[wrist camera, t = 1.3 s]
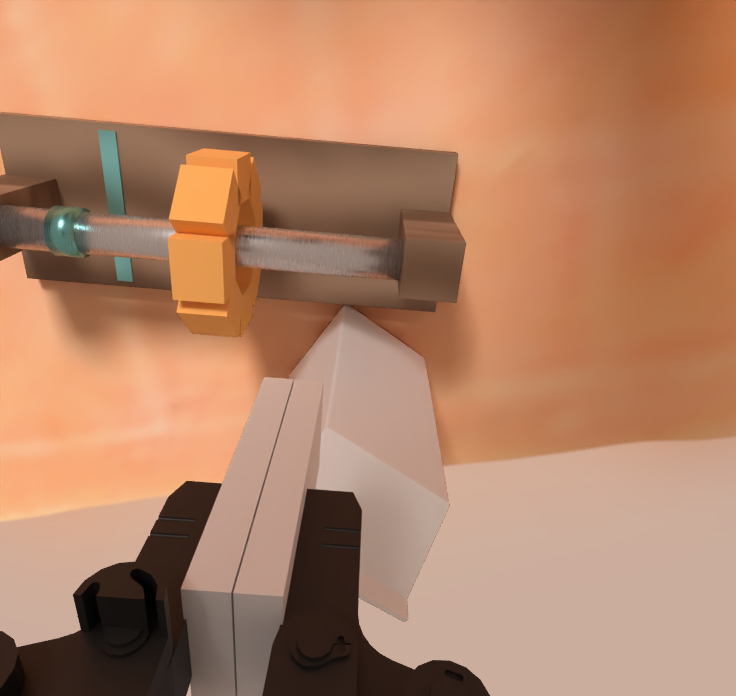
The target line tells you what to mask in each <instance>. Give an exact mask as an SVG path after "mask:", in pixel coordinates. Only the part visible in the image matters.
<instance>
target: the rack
mask: <svg viewBox="0 0 736 696" xmlns="http://www.w3.org/2000/svg"><path fill="white" fill-rule="evenodd" d="M204 148H206V149H217V150H228V151H240V152H250V157H254V161H255V165H256V169H257V173H258V177H259V181H260V186H261V196H260V202H263V227H268V228H279V229H291V230H303V231H314V232H326V233H338V234H349V235H361V236H373V237H384V238H396V239H404V251H403V263H402V272H401V278H400V281H397V280H385V279H373V278H361V277H349V276H338V275H326V274H314V273H302V272H290V271H278V270H266V269H261V273H260V279H259V286H258V293H257V297H261V298H273V299H285V300H297V301H309V302H321V303H333V304H345V305H357V306H369V307H381V308H393V309H405V310H417V311H429V312H435V308H436V302H437V301H440V302H452V303H456V301H457V295H458V289H459V283H460V277H461V271H462V265H463V259H464V253H465V246H466V242H465V240H464V238H463V236H462V235H461V233H460V231H459V229H458V227H457V225H456V223H455V222H454V220H453V218H452V216H451V214H450V207H451V200H452V193H453V186H454V180H455V173H456V166H457V159H458V154H457V153H456V152H445V151H434V150H423V149H412V148H400V147H389V146H378V145H367V144H355V143H344V142H333V141H321V140H310V139H299V138H288V137H276V136H265V135H254V134H243V133H231V132H220V131H209V130H198V129H186V128H175V127H164V126H153V125H141V124H130V123H119V122H107V121H96V120H85V119H74V118H62V117H51V116H40V115H29V114H17V113H6V112H1V113H0V149H1V153H2V158H3V163H4V168H5V173H6V174H5V175H1V176H0V205H11V206H22V207H34V208H46V209H50V208H51V207H53V206H68V207H80V208H86V209H88V210H89V211H90V212H92V213H104V214H116V215H128V216H139V217H151V218H163V219H169V215H170V211H171V206H172V202H173V197H174V193H175V188H176V184H177V179H178V175H179V170H180V166H181V164H182V165H186V155H187V154H190V153H193V152H195V151H198V150H201V149H204ZM20 251H22V254H23V259H24V264H25V269H26V273H27V278H32V279H44V280H56V281H68V282H80V283H92V284H104V285H116V286H128V287H140V288H152V289H164V290H172V285H171V273H170V262H169V261H159V260H148V259H136V258H124V257H112V256H100V255H90V256H89V257H87V258H79V257H67V256H56V255H54V254H53V253H51V251H41V250H29V249H17V248H5V247H1V246H0V261H1V260H3V259H5V258H7V257H10V256H12V255H14V254H16V253H18V252H20Z"/></svg>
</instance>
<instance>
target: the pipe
mask: <svg viewBox="0 0 736 696" xmlns="http://www.w3.org/2000/svg"><path fill="white" fill-rule="evenodd" d="M174 233H176V231H175V230H174V228H173V226H172V224H171V222H170V221H169V219H163V218H151V217H139V216H128V215H116V214H104V213H92V212H90V211H89V210H88V209H86V208H80V207H68V206H53V207H51V208H50V209H46V208H34V207H22V206H11V205H0V246H1V247H5V248H17V249H29V250H41V251H51V253H53V254H54V255H56V256H67V257H79V258H87V257H89V256H90V255H100V256H112V257H124V258H136V259H148V260H159V261H169V250H168V238H169V237H170V236H172V235H173V234H174ZM234 245H235V267H243V268H254V269H266V270H278V271H290V272H302V273H314V274H326V275H338V276H349V277H361V278H373V279H385V280H397V281H400V278H401V272H402V263H403V251H404V239H396V238H384V237H373V236H361V235H349V234H338V233H326V232H314V231H303V230H291V229H279V228H268V227H256V226H244V225H237V228H236V234H235V239H234Z"/></svg>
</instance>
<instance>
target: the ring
mask: <svg viewBox="0 0 736 696" xmlns="http://www.w3.org/2000/svg"><path fill="white" fill-rule="evenodd" d="M260 196H261V186H260V181H259V177H258V173H257V169H256V165H255V161H254V157H250V152H240V151H228V150H217V149H206V148H204V149H201V150H198V151H195V152H193V153H190V154H187V155H186V165H182V164H181V166H180V170H179V175H178V179H177V184H176V188H175V193H174V197H173V202H172V206H171V211H170V215H169V221H170V222H171V224H172V226H173V228H174V230H175V231H176V233H174V234H173V235H172V236H170V237H169V238H168V250H169V262H170V273H171V285H172V297H173V300H179V302H178V307H177V312H176V313H177V314H178V315H179V317H180V318H181V319H182V321H183V322H184V323H185V324H186V326H187V327H188V328H189V330H190V331H191V332H192V334H204V335H216V336H228V337H238V336H240V337H242V335H243V333H244V331H245V329H246V327H247V326H248V324H249V322H250V320H251V318H252V317H253V306H256V299H257V293H258V286H259V279H260V273H261V269H254V268H243V267H235V245H234V239H235V234H236V228H237V225H244V226H256V227H263V202H260Z"/></svg>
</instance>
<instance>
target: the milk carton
mask: <svg viewBox="0 0 736 696" xmlns="http://www.w3.org/2000/svg"><path fill="white" fill-rule="evenodd" d="M288 379H293V384H294V380H295V379H297V380H310V381H322V382H324V386H323V405H322V424H321V444H320V463H319V471H318V477H317V483H316V489H318V490H331V491H344V492H353V493H354V495H355V497H356V499H357V501H358V503H359V505H360V507H361V509H362V525H361V548H360V573H359V598H360V599H362V600H364V601H366V602H367V603H369V604H371V605H373V606H375V607H377V608H379V609H381V610H383V611H384V612H386V613H388V614H391V615H392V616H394V617H396V618H398V619H399V620H401V621H403V622H405V621H407V620H408V605H407V598H408V596H409V594H410V592H411V589H412V587H413V585H414V583H415V581H416V578H417V576H418V574H419V572H420V569H421V568H422V565H423V563H424V561H425V559H426V557H427V554H428V552H429V550H430V548H431V546H432V543H433V541H434V539H435V537H436V535H437V532H438V530H439V528H440V526H441V524H442V522H443V519H444V517H445V515H446V512H447V510H448V508H449V506H450V505H449V500H448V494H447V488H446V482H445V476H444V470H443V464H442V458H441V452H440V446H439V440H438V434H437V428H436V422H435V416H434V410H433V404H432V398H431V392H430V386H429V380H428V374H427V368H426V362H425V359H424V358H423V357H422V356H421V355H419V354H418V353H417V352H415V351H414V350H412V349H411V348H409V347H408V346H407V345H405V344H404V343H402V342H401V341H399V340H398V339H397V338H395V337H394V336H392V335H391V334H389V333H388V332H387V331H385V330H384V329H382V328H381V327H379V326H378V325H377V324H375V323H374V322H372V321H371V320H369V319H368V318H367V317H365V316H364V315H362V314H361V313H359V312H358V311H357V310H355V309H354V308H352V307H351V306H349V305H344V306H343V307H342V308H341V310H340V311H339V312H338V314H337V315H336V316H335V317H334V319H333V320H332V321H331V322H330V324H329V325H328V326H327V328H326V329H325V330H324V331H323V333H322V334H321V335H320V336H319V338H318V339H317V340H316V341H315V343H314V344H313V345H312V347H311V348H310V349H309V350H308V352H307V353H306V354H305V355H304V357H303V358H302V359H301V361H300V362H299V363H298V364H297V366H296V367H295V368H294V369H293V371H292V372H291V373H290V375H289V377H288Z"/></svg>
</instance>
